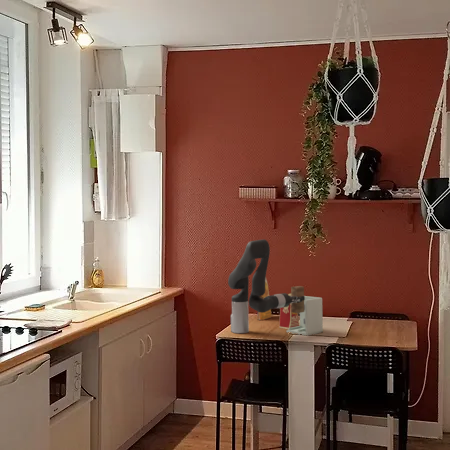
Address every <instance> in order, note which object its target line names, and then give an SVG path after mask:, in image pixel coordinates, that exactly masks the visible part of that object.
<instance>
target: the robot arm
mask: <svg viewBox="0 0 450 450" xmlns="http://www.w3.org/2000/svg"><path fill="white" fill-rule="evenodd" d="M270 250H271V248H270V244H269V241H268V240H267V239H256V240H252V241H248V243H247V244H246V246H245V250H244V252H243V254H242V257H240V259H239V261H238V263H237V265H236V267H235V268H234V269H233V270H232V271H231V273H230V274H229V276H228V278H227V279H228V282H227V284H228V286H229V288H230V289H232V290H240V291H239V292H238V293H236V294H234V295H232V296H231V314H230V332H231V333H233V334H234V333H235V334H246V333H249V329H250V328H249V325H250V324H249V321H250V318H249V307H250V309H253V310H254V311H256V312H257V313H258V312H261V313H263V312H266V311H268V310H270V309H271V310H273V309H280V308H283V307H288V306H289V305H290V303H296V302H297V303H299V302H302V300H305V296H306V295H304V296H301V297H300V296H299V297H297V296H291V295H288V294H289V293H286V292H284V293H283V292H282V293H275V294H272V295H269V296H266V297H265V298H264V299H262V298H260V297H259V296H262V295H264V293H265V279H266V280H267V270H268V265H269V260H270V259H269V258H270V254H271V253H270V252H271V251H270ZM257 259H260V262H259V264H258V267H257V261H256V260H257ZM254 271H255V272H254ZM252 274H253V275H252ZM251 275H252V278H251V292H250V295H249V285H250V284H249V281H250V279H249V277H250V276H251Z"/></svg>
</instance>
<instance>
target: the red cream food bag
mask: <svg viewBox="0 0 450 450" xmlns="http://www.w3.org/2000/svg"><path fill="white" fill-rule="evenodd" d="M287 294H288V295H291V292H290V293H287ZM278 322H279V327H278V328H279V329H286V330H289V328H292V327H297V326H300V317H299V313H292V309H291V303H290V305H289V306H288V307H283V308H279V321H278Z"/></svg>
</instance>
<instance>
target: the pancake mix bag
mask: <svg viewBox="0 0 450 450" xmlns="http://www.w3.org/2000/svg"><path fill="white" fill-rule="evenodd" d="M266 296H270V290H269V284H268V280H267V278H266V279H265V293H264V295H262V296H259V297H260V298H262V299H264V298H265V297H266ZM270 318H272V309H270V310H268V311H266V312H263V313H261V312H258V311H257V321H262V320H263V321H264V320H268V319H270Z"/></svg>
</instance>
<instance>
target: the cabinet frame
mask: <svg viewBox="0 0 450 450" xmlns="http://www.w3.org/2000/svg"><path fill="white" fill-rule="evenodd" d="M304 296H305V300H304V312H301V313H299V324H300V326H297V327H292V328H289V329H286V330H285V331H286V333H288V332H292V333H291V334H294V333H298V334H297V335H300V334H302V335H301V336H306V335H307V336H306V337H308V336H312V334H313V335H317V334H320V333H321V332H322V333H323V332H324V330H323V329H324V328H323V326H324V325H323V298H322V297H319V296H318V297H317V296H308V295H307V296H306V295H304Z"/></svg>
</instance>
